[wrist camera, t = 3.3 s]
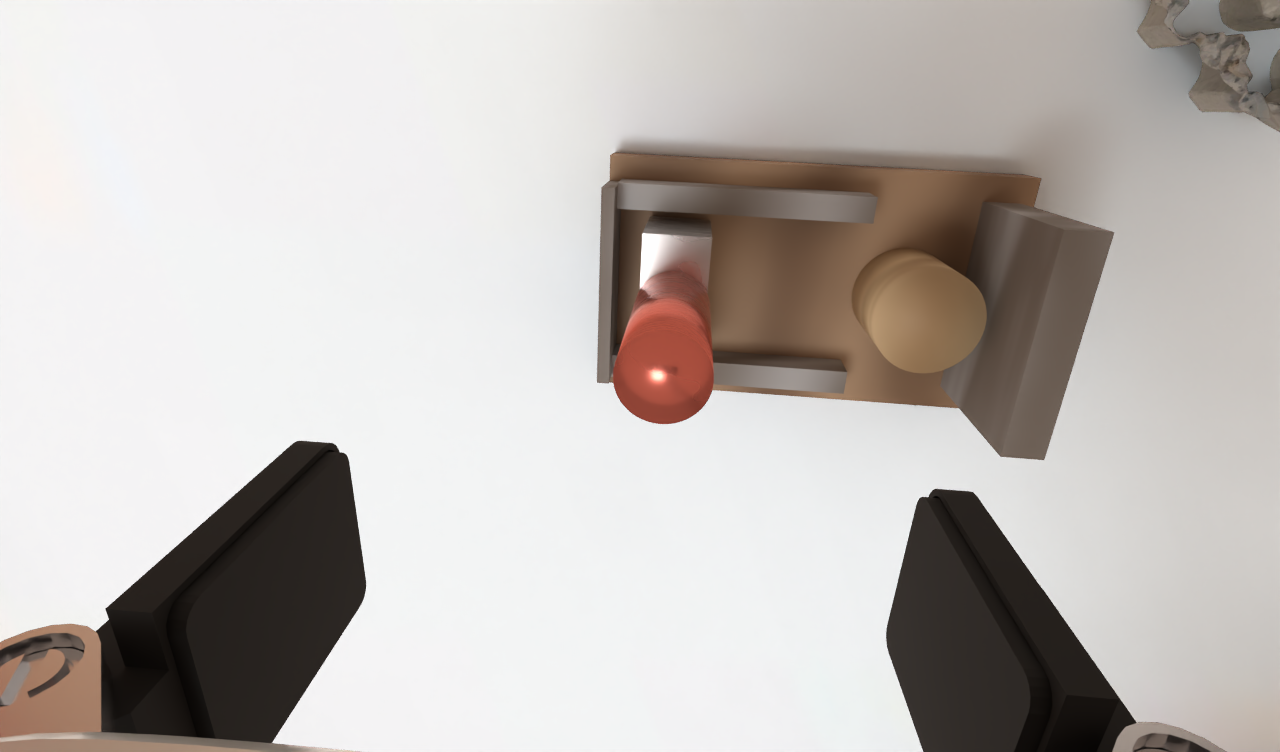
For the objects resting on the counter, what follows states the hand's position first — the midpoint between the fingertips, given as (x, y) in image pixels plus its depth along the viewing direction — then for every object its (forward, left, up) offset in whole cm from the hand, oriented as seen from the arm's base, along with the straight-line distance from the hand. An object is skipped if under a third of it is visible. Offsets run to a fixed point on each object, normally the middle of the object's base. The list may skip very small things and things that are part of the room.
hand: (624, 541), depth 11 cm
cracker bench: (-6, 0, -21) cm, 22 cm away
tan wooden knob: (-10, 0, -19) cm, 22 cm away
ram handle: (0, 0, -19) cm, 19 cm away
